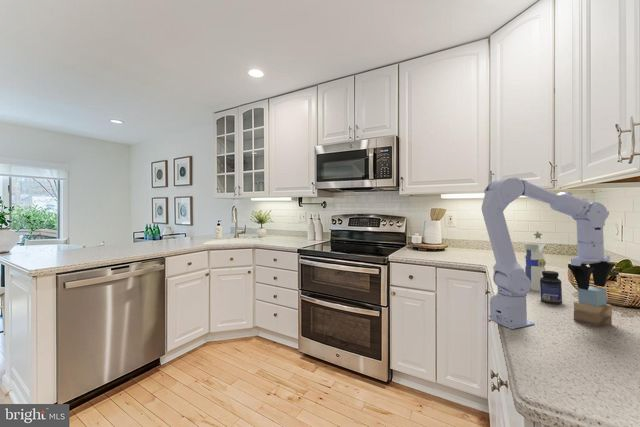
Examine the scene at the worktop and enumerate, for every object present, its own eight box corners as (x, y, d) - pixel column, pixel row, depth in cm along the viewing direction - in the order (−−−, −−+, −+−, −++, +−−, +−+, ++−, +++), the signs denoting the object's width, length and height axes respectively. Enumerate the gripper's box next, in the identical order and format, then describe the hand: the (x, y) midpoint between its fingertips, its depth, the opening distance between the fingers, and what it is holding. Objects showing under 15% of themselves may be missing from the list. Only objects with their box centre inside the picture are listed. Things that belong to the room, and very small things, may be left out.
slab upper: (598, 318, 80) (598, 307, 80) (574, 311, 85) (573, 301, 85) (611, 315, 81) (611, 305, 81) (587, 308, 87) (586, 299, 87)
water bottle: (554, 290, 116) (552, 230, 116) (536, 291, 115) (534, 231, 115) (536, 285, 125) (534, 229, 125) (519, 286, 123) (517, 230, 123)
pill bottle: (566, 304, 99) (565, 273, 99) (546, 304, 100) (545, 273, 100) (555, 299, 105) (554, 270, 105) (537, 299, 106) (536, 270, 106)
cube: (597, 306, 81) (596, 291, 81) (578, 302, 85) (578, 287, 85) (606, 304, 82) (606, 289, 82) (588, 300, 86) (587, 285, 86)
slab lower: (598, 328, 80) (598, 318, 80) (573, 321, 86) (573, 311, 86) (611, 325, 82) (611, 315, 82) (586, 318, 87) (586, 308, 87)
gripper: (590, 245, 78) (592, 293, 78) (622, 241, 82) (624, 287, 82) (562, 242, 84) (563, 287, 84) (592, 240, 89) (594, 282, 89)
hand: (591, 287), depth 84 cm, fingers open, 7 cm apart
